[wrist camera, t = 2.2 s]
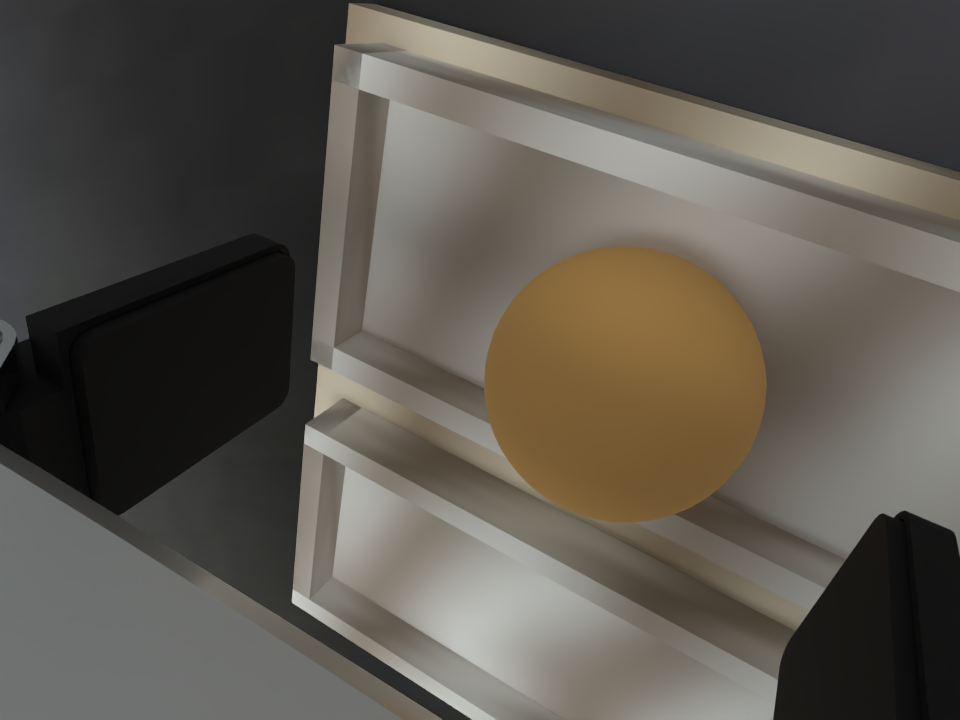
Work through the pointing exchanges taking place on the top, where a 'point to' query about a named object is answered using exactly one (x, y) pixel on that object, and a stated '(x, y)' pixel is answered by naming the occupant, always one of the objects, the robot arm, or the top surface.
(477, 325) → the trough board
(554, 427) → the orange ball
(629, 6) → the top surface
